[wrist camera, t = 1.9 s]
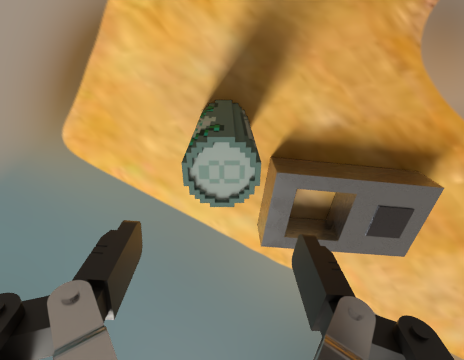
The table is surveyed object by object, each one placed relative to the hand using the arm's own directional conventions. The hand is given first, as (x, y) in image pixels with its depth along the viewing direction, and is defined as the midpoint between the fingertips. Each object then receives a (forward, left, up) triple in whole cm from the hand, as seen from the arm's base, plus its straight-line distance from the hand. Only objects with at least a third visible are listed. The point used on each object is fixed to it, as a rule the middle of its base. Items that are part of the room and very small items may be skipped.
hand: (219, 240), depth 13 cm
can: (0, 0, -23) cm, 23 cm away
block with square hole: (+10, +18, -23) cm, 31 cm away
